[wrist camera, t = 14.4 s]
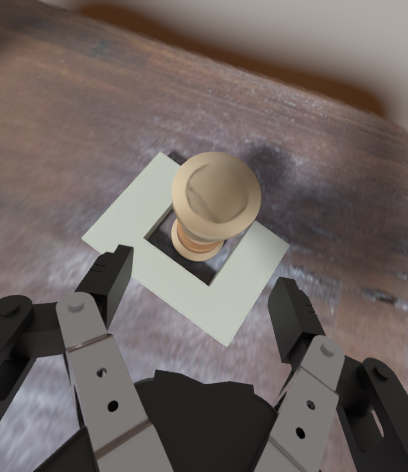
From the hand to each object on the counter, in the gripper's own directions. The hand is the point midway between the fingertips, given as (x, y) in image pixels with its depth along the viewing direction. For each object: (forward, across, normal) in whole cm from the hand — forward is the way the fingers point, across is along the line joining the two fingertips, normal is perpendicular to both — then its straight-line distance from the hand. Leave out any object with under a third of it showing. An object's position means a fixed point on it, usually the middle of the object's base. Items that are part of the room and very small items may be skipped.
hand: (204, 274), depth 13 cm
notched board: (+12, +1, +6) cm, 13 cm away
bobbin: (+12, 0, +5) cm, 13 cm away
